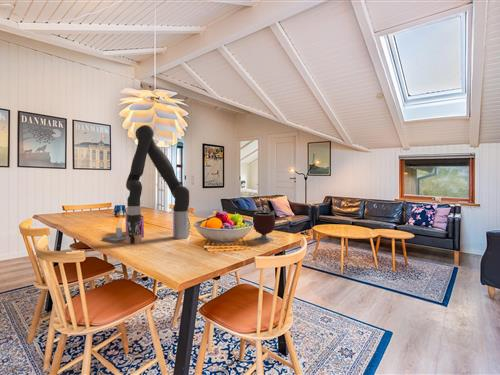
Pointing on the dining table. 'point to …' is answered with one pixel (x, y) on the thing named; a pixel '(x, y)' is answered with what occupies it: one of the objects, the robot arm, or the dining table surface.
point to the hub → (137, 239)
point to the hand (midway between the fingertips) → (133, 241)
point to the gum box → (141, 226)
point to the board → (114, 239)
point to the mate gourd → (264, 225)
